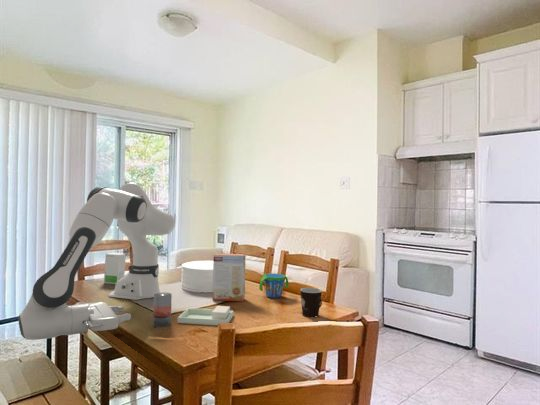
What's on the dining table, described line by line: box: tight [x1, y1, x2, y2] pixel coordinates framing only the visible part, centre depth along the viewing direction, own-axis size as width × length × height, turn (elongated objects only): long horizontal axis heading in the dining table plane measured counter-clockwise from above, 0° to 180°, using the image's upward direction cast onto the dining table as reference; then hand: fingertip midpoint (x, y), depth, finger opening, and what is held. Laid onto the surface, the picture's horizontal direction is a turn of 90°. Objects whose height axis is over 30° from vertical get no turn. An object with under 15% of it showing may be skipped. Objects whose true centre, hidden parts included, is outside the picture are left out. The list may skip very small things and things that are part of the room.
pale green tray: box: [177, 307, 234, 326], centre depth 136 cm, size 18×12×2 cm, turn 85°
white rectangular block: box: [212, 305, 231, 320], centre depth 136 cm, size 5×8×4 cm, turn 175°
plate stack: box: [180, 260, 214, 294], centre depth 193 cm, size 28×28×12 cm
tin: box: [152, 292, 173, 329], centre depth 130 cm, size 6×6×11 cm
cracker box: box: [212, 252, 247, 303], centre depth 167 cm, size 14×6×21 cm, turn 84°
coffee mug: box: [300, 287, 323, 318], centre depth 146 cm, size 12×9×10 cm
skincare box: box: [103, 251, 126, 285], centre depth 194 cm, size 8×7×16 cm
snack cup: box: [259, 273, 289, 299], centre depth 175 cm, size 16×10×10 cm
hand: (126, 312), depth 123 cm, fingers open, 8 cm apart
